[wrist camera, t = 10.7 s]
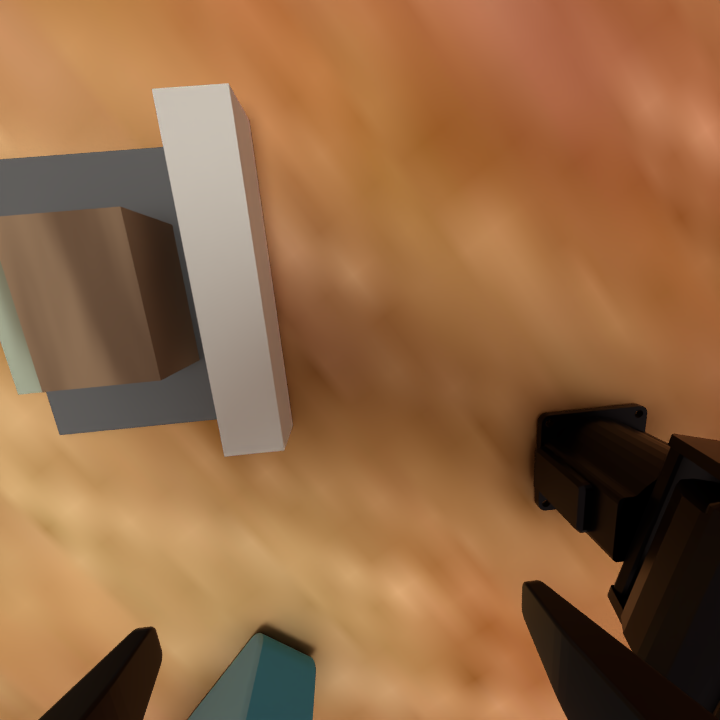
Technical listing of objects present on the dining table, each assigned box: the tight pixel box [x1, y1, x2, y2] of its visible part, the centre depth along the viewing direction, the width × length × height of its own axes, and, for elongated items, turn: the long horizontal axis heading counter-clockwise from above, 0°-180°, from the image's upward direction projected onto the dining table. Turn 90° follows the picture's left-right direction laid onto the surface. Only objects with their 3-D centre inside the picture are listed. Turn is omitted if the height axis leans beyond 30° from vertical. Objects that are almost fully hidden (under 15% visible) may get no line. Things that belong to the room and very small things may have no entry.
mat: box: [0, 147, 217, 435], centre depth 17 cm, size 10×14×1 cm
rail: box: [152, 83, 293, 457], centre depth 16 cm, size 3×16×3 cm, turn 5°
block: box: [0, 207, 200, 395], centre depth 15 cm, size 4×7×6 cm
